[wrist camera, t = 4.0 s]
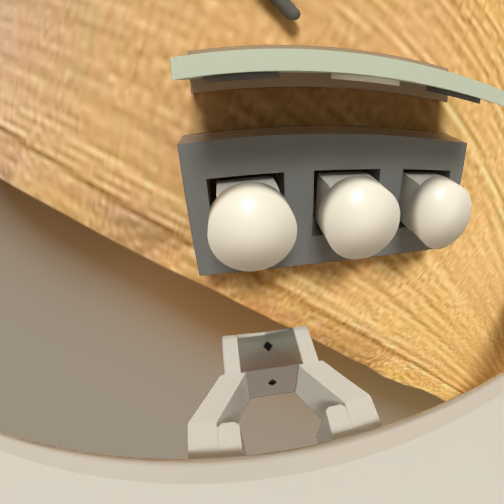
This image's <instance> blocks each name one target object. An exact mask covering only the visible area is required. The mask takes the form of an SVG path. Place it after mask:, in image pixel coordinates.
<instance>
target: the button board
mask: <svg viewBox="0 0 504 504" xmlns="http://www.w3.org/2000/svg"><path fill="white" fill-rule="evenodd" d="M466 146H467V143H465V142H463V141H461V140H459V139H456V138H454V137H452V136H449V135H447V134H443V133H435V132H427V131H417V130H407V129H395V128H380V127H360V126H286V127H265V128H250V129H237V130H226V131H216V132H207V133H199V134H191V135H184V136H183V137H182V138H181V140H180V141H179V143H178V152H179V159H180V166H181V172H182V179H183V185H184V192H185V198H186V204H187V210H188V216H189V222H190V227H191V233H192V238H193V244H194V249H195V254H196V260H197V265H198V270H199V275H200V276H202V275H212V274H222V273H232V272H242V271H240V270H236V269H233V268H231V267H228V266H227V265H225V264H223V263H222V262H221V261H219V260H218V259H217V258H216V256H215V255H214V254H213V252H212V250H211V248H210V246H209V243H208V236H207V232H208V217H209V211H210V208H211V206H212V196H211V188H210V180H209V179H213V178H222V177H232V176H243V175H254V174H267V173H277V186H278V188H279V190H280V193H281V194H282V195H283V196H284V197H285V199H286V201H287V202H288V204H289V206H290V208H291V210H292V212H293V214H294V217H295V219H296V223H297V237H296V241H295V243H294V246H293V248H292V249H291V251H290V252H289V254H288V255H287V256H286V257H285V258H284V259H283V260H281V261H280V262H279V263H277V264H276V265H274V266H272V267H270V268H280V267H289V266H298V265H306V264H315V263H324V262H332V261H341V260H349V259H348V258H344V257H342V256H340V255H338V254H337V253H336V252H335V251H334V250H333V249H332V248H331V246H330V245H329V243H328V241H327V239H326V238H325V236H324V234H323V233H322V231H321V229H320V227H319V226H318V224H317V222H316V217H313V195H314V171H317V170H346V169H362V172H367V173H368V174H369V175H371V176H372V177H373V178H374V179H376V180H377V181H378V182H379V183H381V184H382V186H383V187H385V188H386V189H387V190H388V191H389V192H391V193H392V194H393V195H394V197H395V198H396V200H397V202H398V203H399V197H400V190H401V183H402V176H403V169H418V170H429V172H437V173H438V174H440V175H441V176H445V177H447V178H449V179H451V180H452V181H454V182H455V183H457V184H458V185H460V182H461V177H462V171H463V166H464V160H465V153H466ZM428 249H432V248H429V247H427V246H426V245H425V244H424V243H423V242H422V241H421V240H420V239H419V238H418V237H417V236H416V235H415V234H414V233H413V231H410V230H409V229H408V228H407V227H406V226H405V225H404V224H403V223H402V222H401V221H400V222H399V226H398V229H397V232H396V234H395V236H394V237H393V239H392V240H391V241H390V243H389V244H388V245H387V246H386V247H385V248H384V249H382V250H381V251H380V252H378V253H376V254H375V255H373V256H370V257H374V256H382V255H390V254H397V253H405V252H413V251H420V250H428ZM270 268H267V269H270Z"/></svg>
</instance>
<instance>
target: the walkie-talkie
mask: <svg viewBox="0 0 504 504" xmlns="http://www.w3.org/2000/svg"><path fill="white" fill-rule="evenodd" d="M271 1H272V2H273V3H274V4H275V5H276V6H277V7H278V8H279V10H280V11H281V12H282V13H283V14H284V15H285V16H286V17H287V18H288V19H289V20H297V19H298V18H299V17H300V11H299V10H298V9H297V8H296V6H295V5H294V4H293V3H292V2H291V1H290V0H271Z"/></svg>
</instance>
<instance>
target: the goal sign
mask: <svg viewBox="0 0 504 504" xmlns="http://www.w3.org/2000/svg"><path fill="white" fill-rule="evenodd" d="M170 62H171V72H172V80H187V79H190V84H191V94H193V93H201V92H209V91H219V90H230V89H242V88H260V87H332V88H349V89H362V90H373V91H382V92H390V93H398V94H405V95H411V96H417V97H423V98H429V99H434V100H439V101H444V102H447V96H448V95H449V96H453V97H457V98H461V99H464V100H468V101H472V102H475V103H479V104H480V99H481V100H485V101H488V102H491V103H495V104H498V105H501V106H504V91H503V90H500V89H498V88H495V87H493V86H490V85H487V84H485V83H482V82H479V81H476V80H473V79H470V78H467V77H464V76H461V75H458V74H455V73H451V72H448V69H447V68H444V67H440V66H437V65H433V64H429V63H425V62H421V61H417V60H412V59H408V58H403V57H398V56H393V55H388V54H382V53H376V52H369V51H362V50H354V49H345V48H335V47H323V46H305V45H251V46H234V47H221V48H211V49H202V50H194V51H188V55H184V56H178V57H172V58H170Z"/></svg>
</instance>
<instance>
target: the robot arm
mask: <svg viewBox="0 0 504 504" xmlns="http://www.w3.org/2000/svg"><path fill="white" fill-rule="evenodd" d="M237 339H238V340H237ZM222 344H223V357H224V358H223V359H224V372H225V374H224V375H220V376H219V378H218V380H217V381H216V383H215V384H214V386H213V387H212V389H211V390H210V392H209V393H208V395H207V396H206V398H205V399H204V401H203V402H202V404H201V405H200V407H199V408H198V410H197V411H196V413H195V414H194V416H193V417H192V419H191V420H190V422H189V423H188V459H152V458H134V457H122V456H113V455H104V454H96V453H89V452H83V451H77V450H71V449H66V448H61V447H56V446H52V445H47V444H43V443H39V442H35V441H31V440H27V439H24V438H20V437H17V436H14V435H10V434H7V433H4V432H1V431H0V504H504V371H503V372H501V373H499V374H498V375H496V376H494V377H493V378H491V379H489V380H487V381H485V382H484V383H482V384H480V385H478V386H476V387H474V388H472V389H470V390H469V391H467V392H465V393H463V394H461V395H459V396H456V397H454V398H452V399H450V400H448V401H446V402H444V403H442V404H439V405H437V406H435V407H433V408H430V409H428V410H425V411H423V412H420V413H418V414H415V415H413V416H410V417H407V418H405V419H402V420H399V421H397V422H394V423H391V424H388V425H385V426H382V425H381V422H380V420H379V417H378V414H377V412H376V409H375V407H374V404H373V401H372V399H371V396H370V395H368V394H367V393H366V392H364V391H363V390H362V389H360V388H359V387H358V386H356V385H355V384H354V383H352V382H351V381H349V380H348V379H347V378H345V377H344V376H343V375H341V374H340V373H339V372H337V371H336V370H334V369H333V368H332V367H331V366H329V365H328V364H327V363H325V362H324V361H318V358H317V354H316V351H315V348H314V345H313V342H312V339H311V336H310V333H309V331H308V328H307V327H306V326H300V327H294V328H286V329H279V330H273V331H266V332H262V333H251V334H241V335H231V336H223V338H222ZM290 392H295V393H296V394H297V395H298V396H299V397H300V398H301V399H302V400H303V401H304V402H305V403H306V404H307V405H308V406H309V407H310V408H311V409H312V410H313V411H315V413H316V414H317V415H318V416H319V417H321V418H322V419H323V420H322V423H321V426H320V428H319V431H318V433H317V436H316V437H317V441H318V444H316V445H311V446H306V447H301V448H295V449H290V450H284V451H277V452H270V453H263V454H255V455H246V452H245V447H244V442H243V439H242V434H241V430H240V426H239V424H238V422H239V420H240V418H241V416H242V414H243V412H244V410H245V408H246V406H247V404H248V402H249V398H256V397H262V396H269V395H275V394H283V393H290Z"/></svg>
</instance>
